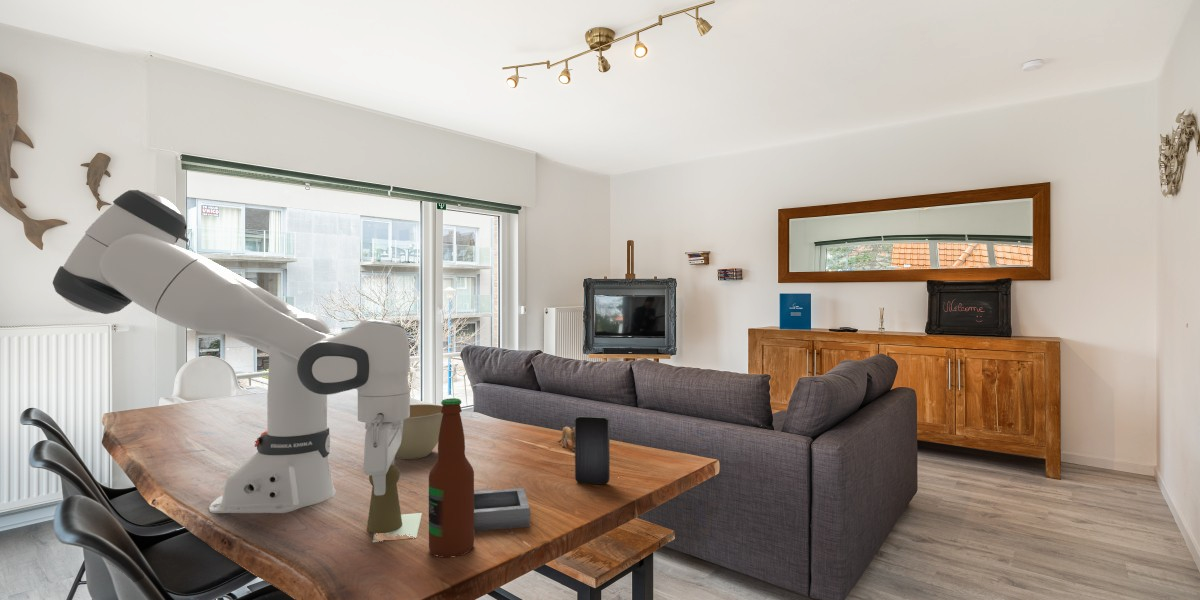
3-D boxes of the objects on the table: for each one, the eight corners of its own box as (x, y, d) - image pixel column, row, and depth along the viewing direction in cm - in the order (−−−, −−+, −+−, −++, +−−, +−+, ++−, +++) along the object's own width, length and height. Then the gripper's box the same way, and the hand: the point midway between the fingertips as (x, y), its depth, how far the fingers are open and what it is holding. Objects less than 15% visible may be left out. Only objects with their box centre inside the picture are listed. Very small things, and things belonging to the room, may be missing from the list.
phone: (609, 483, 128) (609, 417, 128) (608, 485, 127) (608, 418, 127) (575, 481, 130) (575, 415, 130) (574, 482, 129) (574, 416, 129)
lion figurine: (591, 450, 156) (591, 423, 156) (579, 453, 153) (579, 426, 153) (563, 442, 165) (563, 417, 165) (551, 445, 162) (551, 419, 162)
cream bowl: (386, 448, 159) (386, 405, 159) (452, 446, 161) (451, 403, 161) (367, 467, 141) (366, 418, 141) (441, 464, 143) (441, 416, 143)
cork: (408, 521, 105) (408, 462, 105) (390, 534, 99) (389, 472, 99) (379, 519, 106) (379, 460, 106) (359, 532, 101) (359, 470, 101)
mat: (341, 547, 95) (341, 545, 95) (355, 520, 107) (355, 518, 107) (416, 540, 98) (416, 538, 98) (422, 514, 110) (422, 512, 110)
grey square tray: (465, 532, 101) (465, 513, 101) (466, 509, 112) (466, 492, 112) (529, 527, 104) (529, 507, 104) (524, 505, 115) (523, 487, 115)
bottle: (444, 538, 99) (444, 395, 99) (482, 543, 97) (481, 397, 97) (419, 556, 92) (419, 402, 92) (459, 562, 90) (459, 404, 90)
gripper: (395, 419, 93) (395, 504, 93) (408, 398, 113) (408, 467, 113) (353, 421, 92) (354, 507, 92) (374, 399, 111) (374, 470, 111)
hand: (384, 485), depth 102 cm, fingers open, 8 cm apart
